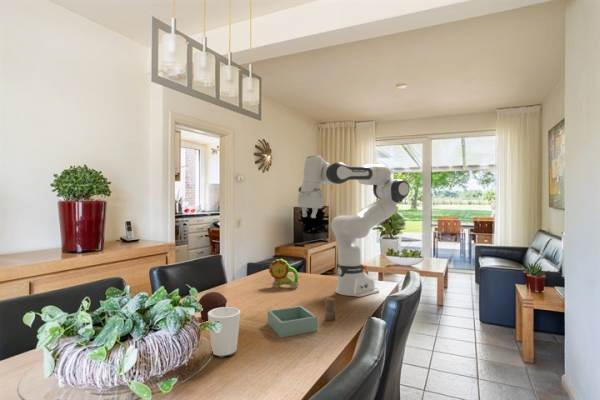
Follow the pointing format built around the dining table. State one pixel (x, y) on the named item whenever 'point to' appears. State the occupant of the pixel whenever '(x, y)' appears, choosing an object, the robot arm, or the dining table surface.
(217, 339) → the cup
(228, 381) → the dining table surface
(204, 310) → the muffin
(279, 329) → the bin
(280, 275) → the toy lion
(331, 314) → the walnut peg
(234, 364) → the dining table surface
